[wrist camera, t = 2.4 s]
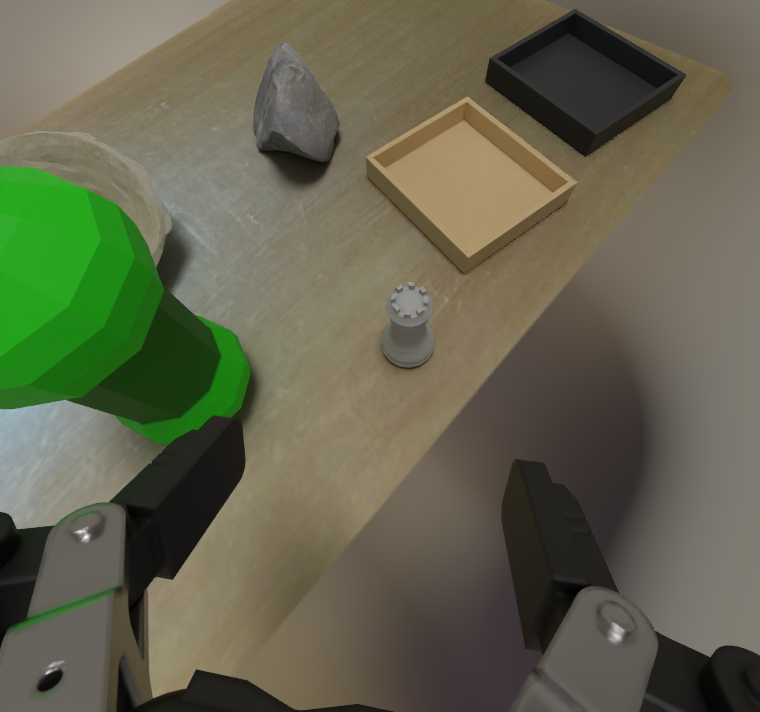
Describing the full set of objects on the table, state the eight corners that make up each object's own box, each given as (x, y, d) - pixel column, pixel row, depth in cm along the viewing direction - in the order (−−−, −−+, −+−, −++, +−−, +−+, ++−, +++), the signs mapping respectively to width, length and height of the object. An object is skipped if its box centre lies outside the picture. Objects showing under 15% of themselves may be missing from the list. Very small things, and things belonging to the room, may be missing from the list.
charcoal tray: (670, 98, 42) (686, 74, 39) (585, 156, 39) (596, 134, 37) (566, 33, 46) (575, 8, 44) (484, 81, 44) (489, 58, 42)
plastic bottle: (292, 387, 32) (-1, 77, 9) (190, 482, 30) (-589, 406, 6) (221, 314, 35) (-144, -67, 12) (123, 395, 32) (-583, 124, 9)
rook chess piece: (419, 313, 34) (424, 260, 26) (443, 356, 32) (455, 311, 25) (373, 334, 33) (365, 285, 26) (395, 378, 32) (394, 339, 24)
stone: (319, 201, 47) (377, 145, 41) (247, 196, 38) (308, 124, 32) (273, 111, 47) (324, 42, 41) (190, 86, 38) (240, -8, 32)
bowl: (88, 362, 34) (-31, 309, 24) (19, 270, 38) (-106, 195, 28) (222, 258, 37) (162, 175, 28) (146, 183, 41) (71, 90, 32)
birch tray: (566, 202, 37) (577, 182, 35) (463, 274, 35) (468, 257, 33) (463, 118, 42) (467, 96, 40) (367, 176, 40) (365, 156, 38)
